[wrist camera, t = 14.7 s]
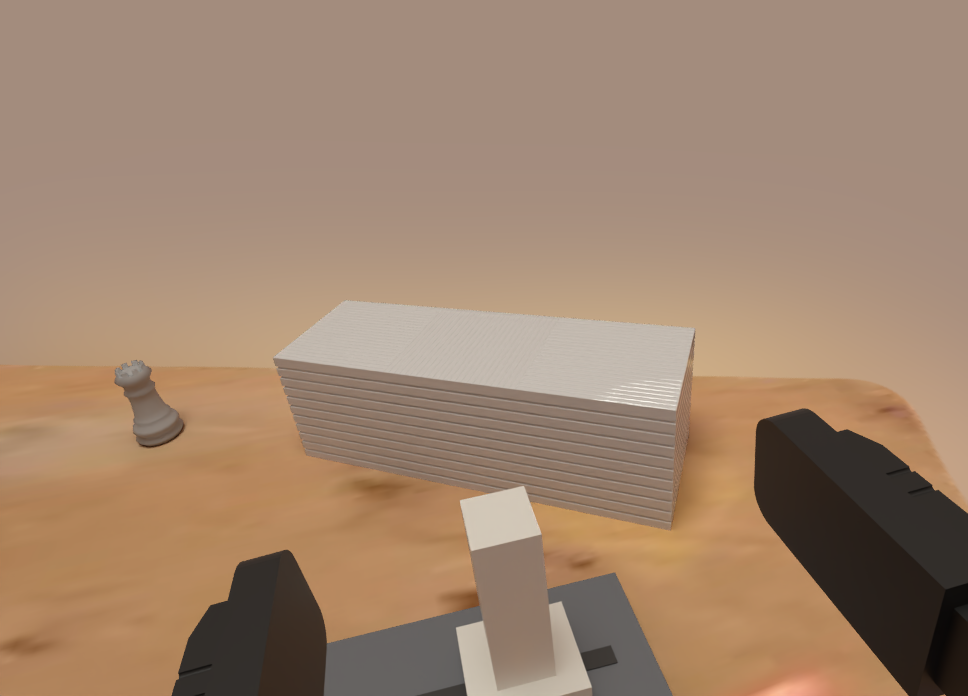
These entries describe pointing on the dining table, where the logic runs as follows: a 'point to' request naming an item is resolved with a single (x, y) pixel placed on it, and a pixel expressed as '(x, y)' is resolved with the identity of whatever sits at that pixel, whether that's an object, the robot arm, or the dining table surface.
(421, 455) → the stack of papers
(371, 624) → the dining table surface
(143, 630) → the dining table surface
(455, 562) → the dining table surface
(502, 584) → the fader tab
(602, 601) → the fader console
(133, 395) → the rook chess piece
